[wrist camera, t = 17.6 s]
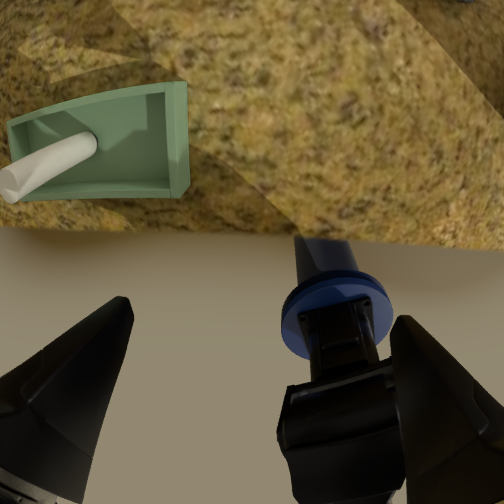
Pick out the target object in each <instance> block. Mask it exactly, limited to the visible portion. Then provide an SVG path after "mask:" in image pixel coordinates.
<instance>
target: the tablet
mask: <svg viewBox="0 0 504 504" xmlns="http://www.w3.org/2000/svg"><path fill="white" fill-rule="evenodd" d="M458 1H460V2H463V3H472V2H474V0H458Z"/></svg>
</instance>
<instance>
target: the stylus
mask: <svg viewBox="0 0 504 504" xmlns="http://www.w3.org/2000/svg"><path fill="white" fill-rule="evenodd" d="M97 147H98V139H97V137H96V135H95V134H93V133H90V132H88V131H84V132H81V133H78V134H76V135H73V136H71V137H68V138H66V139H63V140H61V141H58V142H56V143H54V144H51V145H49V146H47V147H45V148H42V149H40V150H38V151H36V152H34V153H32V154H30V155H28V156H26V157H24V158H22V159H20V160H18V161H16V162H14V163H12V164H10V165H8V166H6V167H4V168H3V169H1V170H0V194H1V196H2V197H3V199H4V200H5V201H6V202H8V203H10V204H13V203H15V202H17V201H18V200H19V199H21V198H22V197H24V196H25V195H27V194H28V193H30V192H31V191H33V190H34V189H36V188H38V187H39V186H41V185H42V184H44V183H45V182H47V181H49V180H50V179H52V178H54V177H55V176H57V175H59V174H60V173H62V172H64V171H66V170H67V169H69V168H71V167H73V166H74V165H76V164H78V163H80V162H82V161H84V160H85V159H87V158H89V157H91V156H92V155H93V154H94V153H95V151H96V149H97Z"/></svg>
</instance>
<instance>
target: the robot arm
mask: <svg viewBox="0 0 504 504" xmlns="http://www.w3.org/2000/svg"><path fill="white" fill-rule="evenodd" d="M365 302H367V303H365ZM302 317H304V318H302ZM297 321H298V323H299V326H300V329H301V332H302V335H303V338H304V340H305V343H306V346H307V349H308V352H309V357H310V373H311V382H308V383H303V384H299V385H290V386H287V390H286V394H285V397H284V401H283V406H282V410H281V414H280V418H279V422H278V426H277V431H276V433H277V441H278V443H279V446H280V449H281V452H282V454H283V456H284V457H285V458H286V460H287V463H288V466H289V471H290V475H291V483H292V492H293V496H294V498H295V499H296V501H297V502H298V503H299V504H392V497H393V495H394V494H395V492H396V490H400V489H401V487H402V485H403V483H404V480H405V478H406V480H407V481H406V488H407V504H504V407H503V406H502V405H501V404H500V403H498V402H497V401H496V400H495V399H494V398H493V397H492V396H491V395H490V394H489V393H488V392H487V391H486V390H485V389H484V388H483V387H482V386H481V385H480V384H479V383H478V382H477V381H476V380H475V379H474V378H473V377H472V375H470V373H469V372H468V371H467V370H466V369H465V368H464V367H463V366H462V365H461V364H460V363H459V362H458V361H457V360H456V359H455V358H454V357H453V356H452V355H451V354H450V353H449V352H448V351H447V350H446V349H445V348H444V347H443V346H442V345H441V344H440V343H439V342H438V341H437V340H435V338H434V337H432V336H431V335H430V334H429V333H428V332H427V331H426V330H425V329H424V328H423V327H422V326H421V325H420V324H419V323H418V322H417V321H416V320H415V319H413V318H412V317H411V316H410V315H400V316H398V317H397V319H396V321H395V324H394V325H393V328H392V330H391V332H390V347H391V356H390V358H387V359H384V360H382V361H380V360H379V356H378V352H377V348H376V345H375V331H374V316H373V304H372V300H371V298H370V297H369V296H365V297H361V298H357V299H353V300H349V301H345V302H341V303H337V304H333V305H329V306H324V307H320V308H316V309H311V310H307V311H302V312H299V313H298V314H297ZM133 322H134V313H133V310H132V307H131V304H130V301H129V299H128V298H127V297H122V296H116V297H115V298H113V299H112V300H110V301H109V302H107V303H106V304H104V305H103V306H101V307H100V308H99V309H97V310H96V311H94V312H93V313H91V314H90V315H89V316H87V317H86V318H84V319H83V320H81V321H80V322H79V323H77V324H76V325H75V326H73V327H72V328H70V329H69V330H68V331H66V332H65V333H63V334H62V335H61V336H59V337H58V338H56V339H55V340H54V341H52V342H51V343H50V344H48V345H47V346H45V347H44V348H43V350H40V351H39V352H37V353H36V354H35V355H33V356H32V357H30V358H29V359H28V360H26V361H25V362H23V363H22V364H21V365H19V366H17V367H16V368H14V369H13V370H11V371H10V372H8V373H6V374H5V375H3V376H2V377H0V504H57V502H56V499H57V496H59V497H62V498H64V499H67V500H70V501H73V502H75V503H78V504H82V502H83V498H84V493H85V489H86V484H87V480H88V476H89V472H90V468H91V464H92V460H93V458H92V457H93V456H94V452H95V448H96V445H97V441H98V437H99V434H100V430H101V427H102V424H103V420H104V417H105V414H106V411H107V407H108V404H109V401H110V398H111V395H112V392H113V389H114V386H115V383H116V380H117V378H118V374H119V372H120V369H121V366H122V363H123V360H124V357H125V354H126V350H127V345H128V342H129V338H130V334H131V330H132V326H133Z"/></svg>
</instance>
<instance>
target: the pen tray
mask: <svg viewBox="0 0 504 504" xmlns="http://www.w3.org/2000/svg"><path fill="white" fill-rule="evenodd" d="M6 124H7V132H8V140H9V147H10V153H11V159H12V163H14V162H16V161H18V160H20V159H22V158H24V157H26V156H28V155H30V154H32V153H34V152H36V151H38V150H40V149H42V148H45V147H47V146H49V145H51V144H54V143H56V142H58V141H61V140H63V139H66V138H68V137H71V136H73V135H76V134H78V133H81V132H84V131H88V132H90V133H93V134H95V135H96V137H97V139H98V147H97V149H96V151H95V153H94V154H93V155H92V156H91V157H89V158H87V159H85V160H84V161H82V162H80V163H78V164H76V165H74V166H73V167H71V168H69V169H67V170H66V171H64V172H62V173H60V174H59V175H57V176H55V177H54V178H52V179H50V180H49V181H47V182H45V183H44V184H42V185H41V186H39V187H38V188H36V189H34V190H33V191H31V192H30V193H28V194H27V195H25V196H24V197H22V198H21V202H27V201H44V200H65V199H96V198H181V196H182V195H183V194H184V193H185V191H186V190H187V189H188V187H189V186H190V185H191V183H190V165H189V143H188V110H187V82H186V81H172V82H163V83H154V84H147V85H140V86H133V87H127V88H122V89H116V90H111V91H106V92H101V93H97V94H92V95H88V96H84V97H80V98H76V99H72V100H68V101H65V102H61V103H58V104H55V105H51V106H48V107H45V108H42V109H39V110H36V111H33V112H30V113H27V114H24V115H22V116H19V117H16V118H14V119H11V120H9V121H7V122H6Z"/></svg>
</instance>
